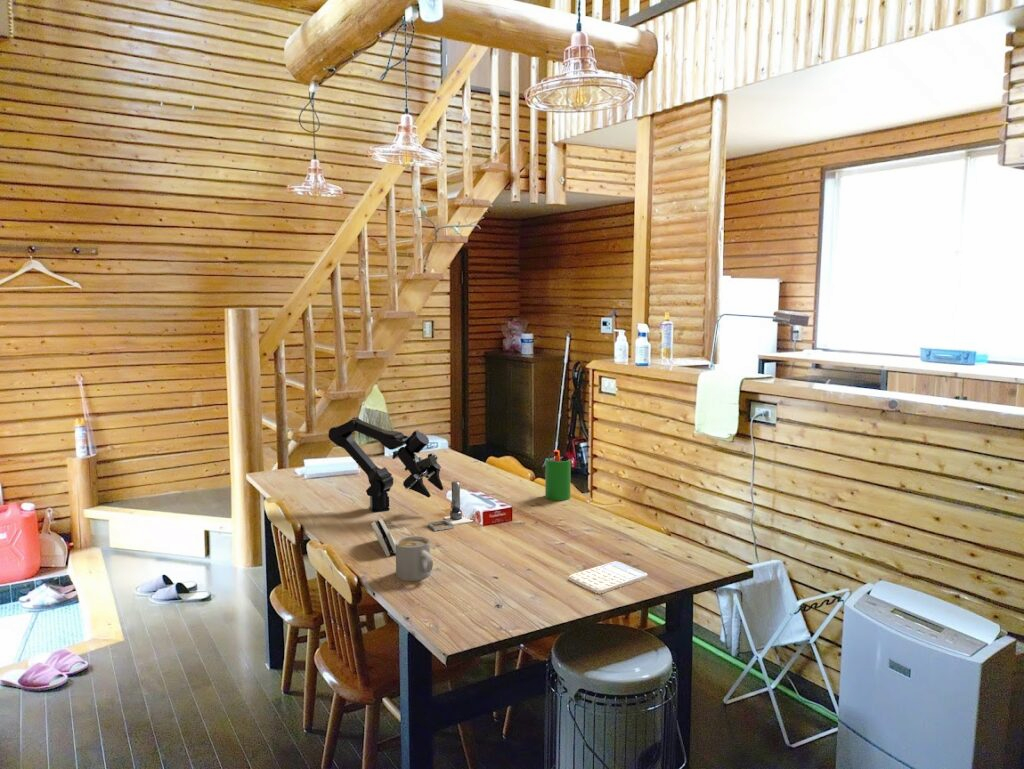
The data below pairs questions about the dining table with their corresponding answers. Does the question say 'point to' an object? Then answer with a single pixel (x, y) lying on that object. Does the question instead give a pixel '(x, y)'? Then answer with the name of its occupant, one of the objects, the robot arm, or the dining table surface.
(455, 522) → the mat
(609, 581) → the calculator
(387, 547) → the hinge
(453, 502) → the grey metal post
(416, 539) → the coffee mug
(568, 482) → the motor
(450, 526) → the gray square frame
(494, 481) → the dining table surface
